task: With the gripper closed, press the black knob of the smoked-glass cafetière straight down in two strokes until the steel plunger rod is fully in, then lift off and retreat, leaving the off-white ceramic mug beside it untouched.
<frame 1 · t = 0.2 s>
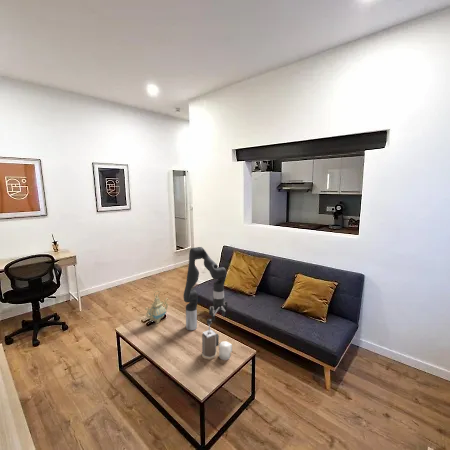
hand: (218, 318, 173), 29 cm above the table, fingers open, 8 cm apart
mug: (224, 356, 178), on the table
plunger: (209, 331, 177), point 18 cm above the table, slide at 0.0 cm
teapot: (157, 323, 220), on the table
carafe: (209, 353, 180), on the table
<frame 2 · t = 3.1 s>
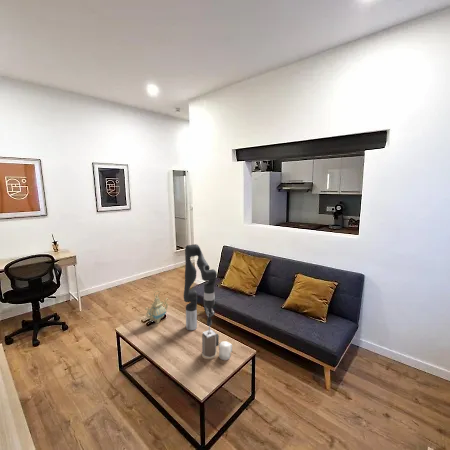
hand: (209, 320, 176), 26 cm above the table, fingers closed
plunger: (209, 332, 178), point 17 cm above the table, slide at 0.8 cm, touching gripper
everything else where it was.
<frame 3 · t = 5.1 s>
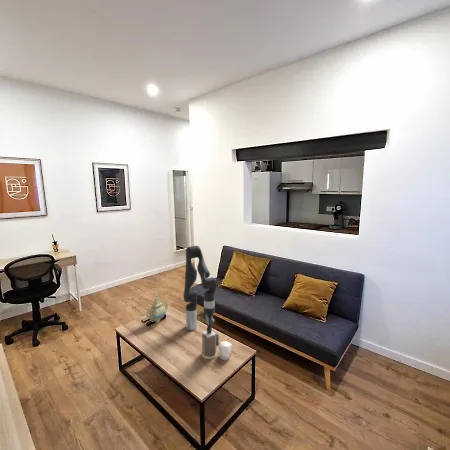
hand: (209, 328, 177), 20 cm above the table, fingers closed
plunger: (209, 339, 178), point 11 cm above the table, slide at 6.7 cm, touching gripper
everything else where it was.
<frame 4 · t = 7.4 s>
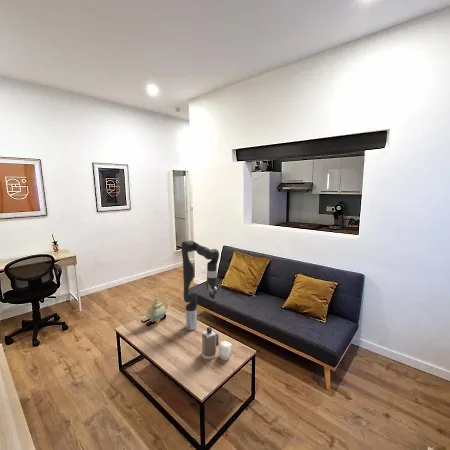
hand: (211, 297, 187), 37 cm above the table, fingers closed
plunger: (209, 339, 178), point 11 cm above the table, slide at 6.7 cm
everything else where it was.
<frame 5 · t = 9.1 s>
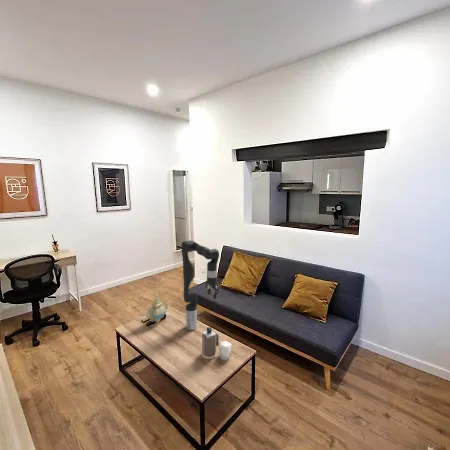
hand: (211, 296, 187), 38 cm above the table, fingers open, 8 cm apart
nothing on the table moved.
at the end: plunger slide at 6.7 cm; mug moved 0.1 cm from its start; mug tilted 0° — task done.
